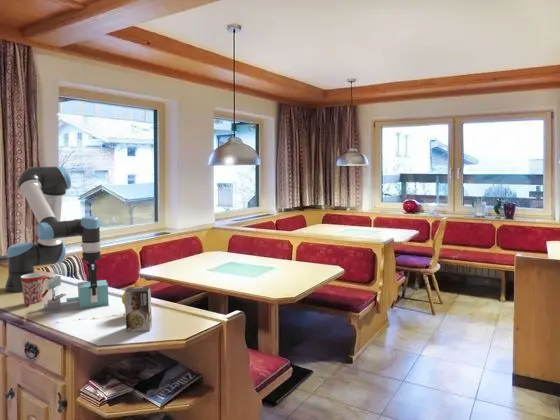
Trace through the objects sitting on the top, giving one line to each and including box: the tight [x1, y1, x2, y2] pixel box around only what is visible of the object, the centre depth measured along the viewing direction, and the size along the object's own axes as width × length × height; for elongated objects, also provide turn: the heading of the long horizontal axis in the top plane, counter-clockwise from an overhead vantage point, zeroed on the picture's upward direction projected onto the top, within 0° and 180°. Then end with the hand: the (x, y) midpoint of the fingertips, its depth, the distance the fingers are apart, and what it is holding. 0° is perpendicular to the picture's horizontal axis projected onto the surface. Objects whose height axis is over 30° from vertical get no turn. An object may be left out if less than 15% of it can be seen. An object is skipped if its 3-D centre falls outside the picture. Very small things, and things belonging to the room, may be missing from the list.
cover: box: [66, 279, 109, 308], centre depth 205 cm, size 10×17×9 cm, turn 116°
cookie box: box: [124, 286, 153, 333], centre depth 177 cm, size 9×6×16 cm
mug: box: [21, 272, 51, 307], centre depth 209 cm, size 13×9×14 cm
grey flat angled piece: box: [44, 275, 67, 300], centre depth 200 cm, size 2×11×10 cm, turn 170°
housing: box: [43, 298, 110, 315], centre depth 203 cm, size 15×26×6 cm, turn 116°
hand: (93, 298), depth 206 cm, fingers open, 11 cm apart
